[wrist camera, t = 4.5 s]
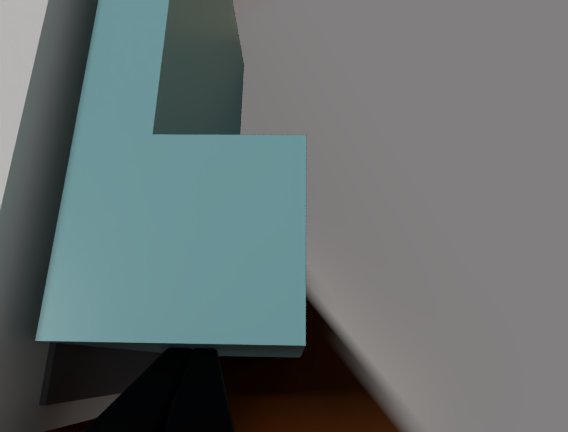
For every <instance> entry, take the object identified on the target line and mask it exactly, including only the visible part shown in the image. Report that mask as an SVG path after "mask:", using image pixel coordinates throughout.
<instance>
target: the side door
mask: <svg viewBox="0 0 568 432" xmlns="http://www.w3.org/2000/svg"><path fill="white" fill-rule="evenodd" d="M243 71H244V63H243V57H242V52H241V46H240V40H239V34H238V29H237V23H236V18H235V12H234V6H233V0H98V5H97V10H96V16H95V21H94V26H93V32H92V37H91V43H90V48H89V53H88V59H87V64H86V69H85V75H84V80H83V86H82V91H81V96H80V102H79V107H78V113H77V118H76V123H75V129H74V134H73V139H72V145H71V150H70V156H69V161H68V166H67V172H66V177H65V183H64V188H63V193H62V199H61V204H60V209H59V215H58V220H57V226H56V231H55V236H54V242H53V247H52V253H51V258H50V263H49V269H48V274H47V280H46V285H45V290H44V296H43V301H42V306H41V312H40V317H39V323H38V328H37V333H36V339H35V341H42V342H53V343H63V344H74V345H85V346H95V347H106V348H116V349H127V350H138V351H148V352H159V353H163V352H164V351H165V350H166V349H168V348H191V349H192V350H193V349H195V348H215V349H217V351H218V355H219V356H246V357H301V355H302V353H303V350H304V348H305V346H306V135H240V126H241V108H242V90H243Z"/></svg>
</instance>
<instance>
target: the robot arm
mask: <svg viewBox="0 0 568 432" xmlns="http://www.w3.org/2000/svg"><path fill="white" fill-rule="evenodd" d="M83 432H234V428H233V423H232V418H231V413H230V408H229V403H228V399H227V394H226V389H225V384H224V379H223V374H222V370H221V365H220V360H219V355H218V351H217V349H215V348H195V349H193V350H192V349H191V348H168V349H166V350H165V351H164V352H163V353H162V354H161V355H160V356H159V357H158V358H157V359H156V360H155V361H154V362H153V363H152V364H151V365H150V366H149V367H148V368H147V369H146V370H145V371H144V372H143V373H142V374H141V375H140V376H139V377H138V378H137V379H136V380H134V381H133V382H132V383H131V384H130V385H129V386H128V387H127V388H126V389H125V390H124V391H123V392H122V393H121V394H120V395H119V396H118V397H117V398H116V399H115V400H114V401H113V402H112V403H111V404H110V405H109V406H108V407H107V408H106V409H105V410H104V411H103V412H102V413H101V414H100V415H99V416H98V417H97V418H96V419H95V420H94V421H93V422H92V423H91V424H90V425H89V426H88V427H87V428H86V429H85V430H84V431H83Z"/></svg>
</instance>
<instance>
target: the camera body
mask: <svg viewBox="0 0 568 432" xmlns="http://www.w3.org/2000/svg"><path fill="white" fill-rule="evenodd" d="M97 5H98V0H0V432H45V431H49V430H52V429H56V428H60V427H64V426H68V425H71V424H75V423H79V422H83V421H87V420H90V419H94V418H97V417H98V416H99V415H100V414H101V413H102V412H103V411H104V410H105V409H106V408H107V407H108V406H109V405H110V404H111V403H112V402H113V401H114V400H115V399H116V398H117V397H118V396H119V395H120V394H121V393H122V392H123V391H124V390H125V389H126V388H127V387H128V386H129V385H130V384H131V383H132V382H133V381H134V380H136V379H137V378H138V377H139V376H140V375H141V374H142V373H143V372H144V371H145V370H146V369H147V368H148V367H149V366H150V365H151V364H152V363H153V362H154V361H155V360H156V359H157V358H158V357H159V356H160V355H161V354H162V353H159V352H148V351H138V350H127V349H116V348H106V347H95V346H85V345H74V344H63V343H53V342H42V341H35V339H36V333H37V328H38V323H39V317H40V312H41V306H42V301H43V296H44V290H45V285H46V280H47V274H48V269H49V263H50V258H51V253H52V247H53V242H54V236H55V231H56V226H57V220H58V215H59V209H60V204H61V199H62V193H63V188H64V183H65V177H66V172H67V166H68V161H69V156H70V150H71V145H72V139H73V134H74V129H75V123H76V118H77V113H78V107H79V102H80V96H81V91H82V86H83V80H84V75H85V69H86V64H87V59H88V53H89V48H90V43H91V37H92V32H93V26H94V21H95V16H96V10H97Z"/></svg>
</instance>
